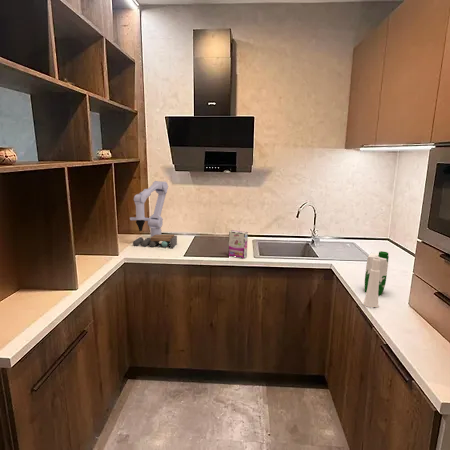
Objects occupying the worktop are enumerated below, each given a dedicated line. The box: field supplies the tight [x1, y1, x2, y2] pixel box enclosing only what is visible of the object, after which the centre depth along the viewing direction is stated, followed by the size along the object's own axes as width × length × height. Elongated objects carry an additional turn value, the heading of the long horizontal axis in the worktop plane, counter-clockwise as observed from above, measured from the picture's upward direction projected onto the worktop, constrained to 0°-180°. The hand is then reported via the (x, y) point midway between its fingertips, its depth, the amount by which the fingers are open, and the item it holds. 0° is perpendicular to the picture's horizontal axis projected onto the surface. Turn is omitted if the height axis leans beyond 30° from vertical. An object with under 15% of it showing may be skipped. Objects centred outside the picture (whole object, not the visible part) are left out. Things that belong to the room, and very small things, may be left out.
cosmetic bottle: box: [363, 256, 380, 309], centre depth 142 cm, size 6×6×22 cm
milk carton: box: [364, 250, 389, 296], centre depth 157 cm, size 9×9×20 cm
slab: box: [150, 234, 175, 242], centre depth 231 cm, size 10×14×2 cm
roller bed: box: [132, 236, 170, 249], centre depth 232 cm, size 10×24×4 cm, turn 83°
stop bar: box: [169, 235, 178, 249], centre depth 230 cm, size 11×2×6 cm, turn 173°
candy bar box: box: [228, 229, 249, 259], centre depth 209 cm, size 11×5×16 cm, turn 62°
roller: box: [160, 241, 170, 248], centre depth 231 cm, size 10×4×4 cm
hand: (140, 230), depth 231 cm, fingers closed
